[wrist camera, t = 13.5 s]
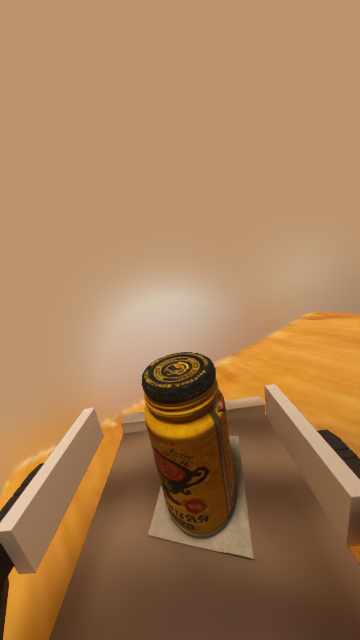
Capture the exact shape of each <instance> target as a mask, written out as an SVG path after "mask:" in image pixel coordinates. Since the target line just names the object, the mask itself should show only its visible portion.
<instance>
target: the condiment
mask: <svg viewBox="0 0 360 640" xmlns="http://www.w3.org/2000/svg"><path fill="white" fill-rule="evenodd" d="M142 386H143V390H144V392H145V394H144V398H145V402H146V406H145V422H146V427H147V430H148V435H149V438H150V441H151V446H152V450H153V454H154V459H155V464H156V466H157V471H158V475H159V479H160V482H161V488H160V492H159V496H158V500H157V504H156V507H155V510H154V515H153V518H152V522H151V526H150V529H149V532H148V535H150V536H155V537H159V538H163V539H167V540H171V541H174V542H178V543H183V544H187V545H191V546H195V547H201V548H205V549H209V550H214V551H218V552H224V553H231V554H235V555H240V556H244V557H248V558H252V559H253V551H252V543H251V535H250V527H249V518H248V510H247V502H246V494H245V486H244V478H243V470H242V461H241V453H240V445H239V437H238V436H229V433H228V424H227V415H226V407H225V401H224V397H223V395H222V393H221V392H220V390H219V389H218V383H217V380H216V371H215V367H214V364H213V363H212V361H211V360H210V359H209V358H208V357H205V356H204V355H201V354H198V353H192V352H183V353H175V354H170V355H167V356H165V357H163V358H160V359H158V360H156V361H154V362H153V363H151V364H150V365H149V366H148V367H147V368H146V370H145V371H144V373H143V375H142Z"/></svg>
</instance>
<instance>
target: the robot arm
mask: <svg viewBox="0 0 360 640" xmlns="http://www.w3.org/2000/svg"><path fill="white" fill-rule="evenodd" d="M265 404H266V417H267V418H268V420H269V422H270V423H271V425H272V427H273V428H274V430H275V431H276V433H277V435H278V436H279V438H280V440H281V441H282V443H283V445H284V446H285V448H286V449H287V451H288V453H289V454H290V456H291V458H292V459H293V461H294V462H295V464H296V466H297V467H298V469H299V471H300V472H301V474H302V476H303V477H304V479H305V480H306V482H307V484H308V485H309V487H310V489H311V490H312V492H313V493H314V495H315V497H316V498H317V500H318V502H319V503H320V505H321V506H322V508H323V510H324V511H325V513H326V515H327V516H328V518H329V520H330V521H331V523H332V524H333V526H334V528H335V529H336V531H337V533H338V534H339V536H340V537H341V539H342V541H343V542H344V544H345V546H357V545H360V459H359V458H358V456H357V455H356V454H355V453H354V452H353V451H352V450H350V449H349V447H348V446H347V445H346V444H345V443H344V442H343V441H342V440H341V439H340V438H339V437H337V436H336V435H334V434H333V433H331V432H330V431H328V430H320V431H316V430H315V429H314V427H313V426H312V425H311V424H310V423H309V422H308V421H307V420H306V418H305V417H304V416H303V415H302V414H301V413H300V412H299V410H298V409H297V408H296V407H295V406H294V405H293V404H292V403H291V401H290V400H289V399H288V398H287V397H286V396H285V395H284V394H283V392H282V391H281V390H280V389H279V388H278V387H277V386H276V385H275V384H272V385H265ZM102 438H103V433H102V430H101V427H100V423H99V420H98V417H97V414H96V411H95V408H89V409H84V411H83V412H82V413H81V415H80V416H79V417H78V419H77V420H76V422H75V423H74V424H73V426H72V427H71V428H70V430H69V431H68V432H67V434H66V435H65V436H64V438H63V439H62V440H61V442H60V443H59V444H58V446H57V447H56V448H55V450H54V451H53V452H52V454H51V455H50V456H49V458H48V459H47V461H46V462H45V463H42V464H39V465H38V466H37V467H36V468H35V469H34V470H33V471H32V472H31V473H30V474H29V475H28V476H27V478H26V479H25V480H24V482H23V483H22V484H21V486H20V487H19V488H18V489H17V490H16V492H15V493H14V494H13V497H11V498H10V499H9V501H8V502H7V503H6V505H5V506H4V507H3V508H2V510H1V511H0V640H3V632H4V624H5V615H6V606H7V597H8V589H9V579H8V575H9V573H10V572H11V570H12V568H13V567H15V568H16V570H17V572H18V573H19V574H27V573H36V571H37V569H38V567H39V565H40V563H41V561H42V559H43V557H44V555H45V553H46V551H47V549H48V547H49V545H50V543H51V541H52V539H53V537H54V535H55V533H56V531H57V529H58V527H59V525H60V523H61V521H62V519H63V517H64V515H65V513H66V511H67V509H68V507H69V505H70V503H71V501H72V499H73V497H74V495H75V493H76V491H77V489H78V487H79V485H80V482H81V480H82V478H83V476H84V474H85V472H86V470H87V468H88V466H89V464H90V462H91V460H92V458H93V456H94V454H95V452H96V450H97V448H98V446H99V444H100V442H101V440H102Z"/></svg>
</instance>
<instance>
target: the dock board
mask: <svg viewBox="0 0 360 640" xmlns="http://www.w3.org/2000/svg"><path fill="white" fill-rule="evenodd" d="M225 407H226V415H227V424H228V433H229V436H238V437H239V445H240V453H241V461H242V470H243V478H244V486H245V494H246V502H247V510H248V518H249V527H250V535H251V543H252V551H253V559H252V558H248V557H244V556H240V555H235V554H231V553H224V552H218V551H214V550H209V549H205V548H201V547H195V546H191V545H187V544H183V543H178V542H174V541H171V540H167V539H163V538H159V537H155V536H150V535H148V532H149V529H150V526H151V522H152V518H153V515H154V510H155V507H156V504H157V500H158V496H159V492H160V488H161V482H160V479H159V475H158V471H157V466H156V464H155V459H154V454H153V450H152V446H151V441H150V438H149V435H148V430H147V427H146V422H145V412H140V413H133V414H125V416H124V418H123V421H122V423H121V425H122V428H123V432H124V435H123V438H122V440H121V443H120V446H119V449H118V451H117V454H116V457H115V460H114V462H113V465H112V468H111V471H110V473H109V476H108V479H107V482H106V484H105V487H104V490H103V493H102V495H101V498H100V501H99V504H98V506H97V509H96V512H95V515H94V518H93V520H92V523H91V526H90V529H89V531H88V534H87V537H86V540H85V542H84V545H83V548H82V551H81V553H80V556H79V559H78V562H77V564H76V567H75V570H74V573H73V575H72V578H71V581H70V584H69V586H68V589H67V592H66V595H65V598H64V600H63V603H62V606H61V609H60V611H59V614H58V617H57V620H56V622H55V625H54V628H53V631H52V633H51V636H50V639H49V640H360V565H359V563H358V562H357V560H356V559H355V557H354V555H353V554H352V552H351V551H350V549H349V547H348V546H345V544H344V542H343V541H342V539H341V537H340V536H339V534H338V533H337V531H336V529H335V528H334V526H333V524H332V523H331V521H330V520H329V518H328V516H327V515H326V513H325V511H324V510H323V508H322V506H321V505H320V503H319V502H318V500H317V498H316V497H315V495H314V493H313V492H312V490H311V489H310V487H309V485H308V484H307V482H306V480H305V479H304V477H303V476H302V474H301V472H300V471H299V469H298V467H297V466H296V464H295V462H294V461H293V459H292V458H291V456H290V454H289V453H288V451H287V449H286V448H285V446H284V445H283V443H282V441H281V440H280V438H279V436H278V435H277V433H276V431H275V430H274V428H273V427H272V425H271V423H270V422H269V420H268V418H267V417H266V415H265V404H264V403H263V401H262V400H261V398H260V397H259V396H258V397H251V398H243V399H236V400H228V401H225Z"/></svg>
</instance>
